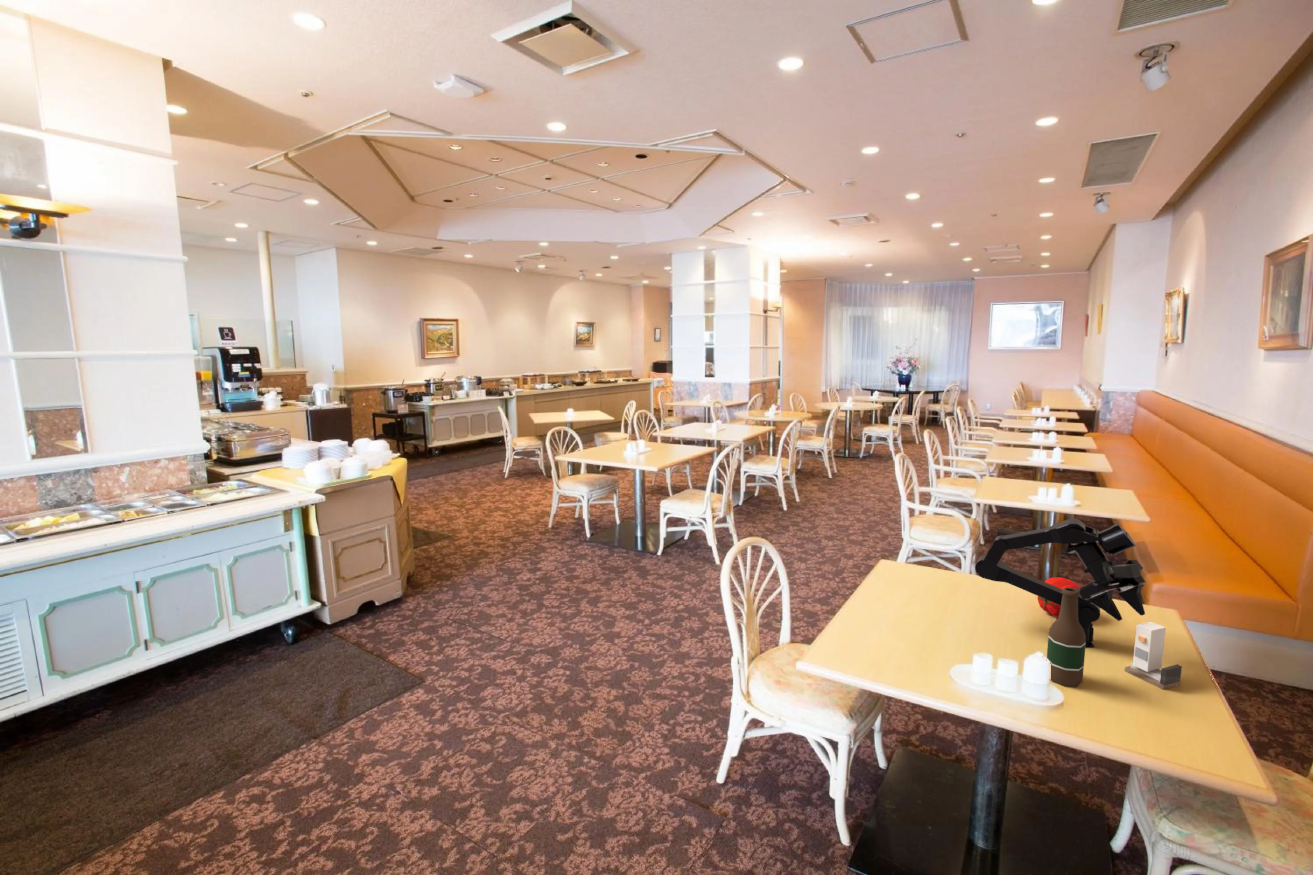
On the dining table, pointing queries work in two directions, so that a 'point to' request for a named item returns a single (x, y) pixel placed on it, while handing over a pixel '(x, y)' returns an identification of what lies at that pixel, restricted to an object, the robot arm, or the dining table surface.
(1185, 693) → the dining table surface
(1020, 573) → the robot arm
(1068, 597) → the beer bottle
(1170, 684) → the rail board
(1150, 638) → the switch module
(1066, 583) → the tomato
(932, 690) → the dining table surface
